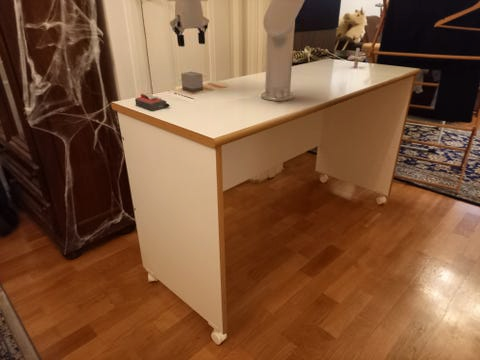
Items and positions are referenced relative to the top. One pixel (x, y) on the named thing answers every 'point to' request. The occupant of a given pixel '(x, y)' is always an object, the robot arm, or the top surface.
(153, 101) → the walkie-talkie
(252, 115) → the top surface
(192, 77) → the block
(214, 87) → the board
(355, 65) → the pipe connector
